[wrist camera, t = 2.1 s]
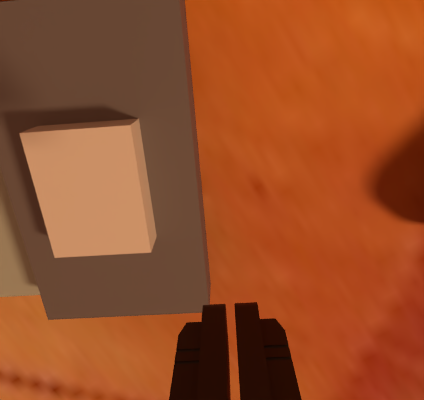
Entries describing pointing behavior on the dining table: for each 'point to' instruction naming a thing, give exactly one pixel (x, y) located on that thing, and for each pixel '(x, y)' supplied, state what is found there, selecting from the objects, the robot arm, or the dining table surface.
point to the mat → (13, 252)
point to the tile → (92, 187)
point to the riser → (108, 111)
